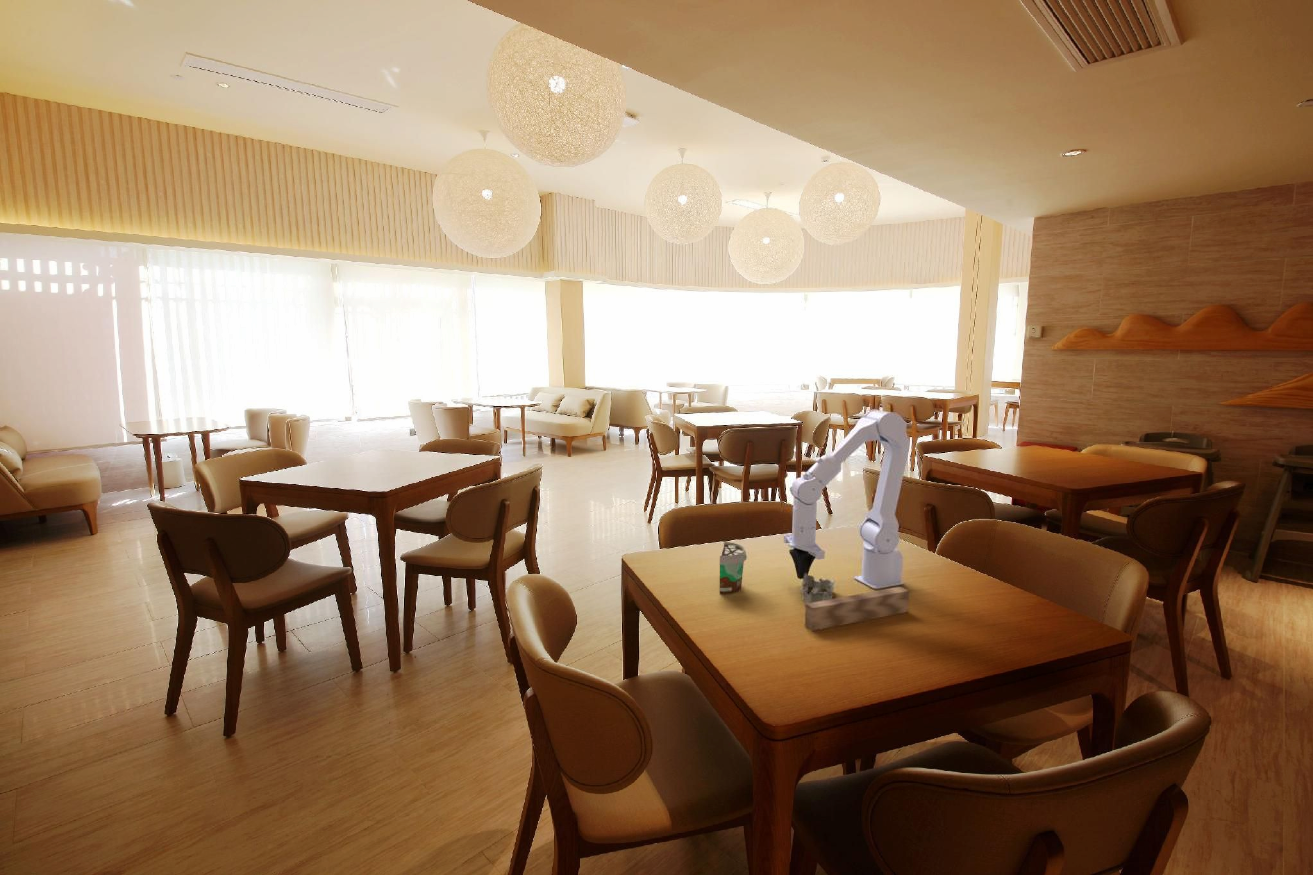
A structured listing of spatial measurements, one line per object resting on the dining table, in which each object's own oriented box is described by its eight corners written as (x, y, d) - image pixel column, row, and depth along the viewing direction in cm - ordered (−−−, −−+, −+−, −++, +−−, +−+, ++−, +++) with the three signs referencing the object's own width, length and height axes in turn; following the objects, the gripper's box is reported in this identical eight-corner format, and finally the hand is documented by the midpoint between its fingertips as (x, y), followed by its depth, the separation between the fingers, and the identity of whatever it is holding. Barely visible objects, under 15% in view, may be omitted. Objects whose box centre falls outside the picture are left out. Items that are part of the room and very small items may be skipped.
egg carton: (803, 586, 149) (804, 571, 148) (834, 590, 146) (835, 575, 146) (799, 603, 139) (799, 586, 138) (832, 607, 136) (832, 590, 136)
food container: (744, 598, 141) (745, 558, 139) (718, 596, 142) (719, 556, 140) (747, 579, 153) (748, 542, 151) (723, 577, 154) (724, 540, 152)
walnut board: (899, 607, 136) (900, 586, 135) (907, 611, 133) (909, 590, 133) (804, 625, 126) (805, 603, 126) (812, 630, 124) (812, 608, 123)
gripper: (774, 519, 152) (773, 570, 154) (808, 535, 139) (806, 590, 141) (797, 517, 155) (795, 566, 157) (832, 532, 141) (830, 586, 143)
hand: (802, 577), depth 149 cm, fingers closed
